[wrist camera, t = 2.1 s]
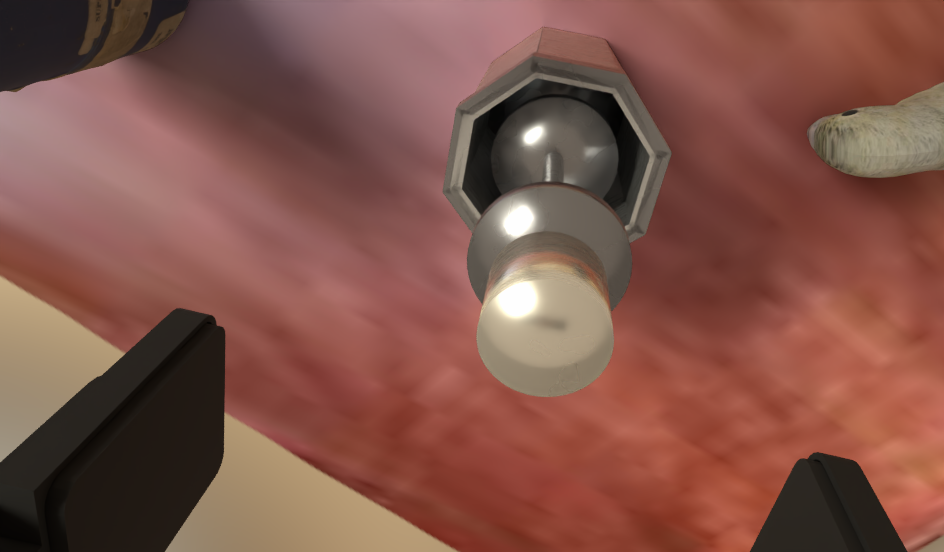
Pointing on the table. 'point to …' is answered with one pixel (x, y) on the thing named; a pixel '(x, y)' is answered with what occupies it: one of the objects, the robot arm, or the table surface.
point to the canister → (77, 35)
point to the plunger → (550, 249)
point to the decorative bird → (884, 137)
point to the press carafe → (570, 73)
